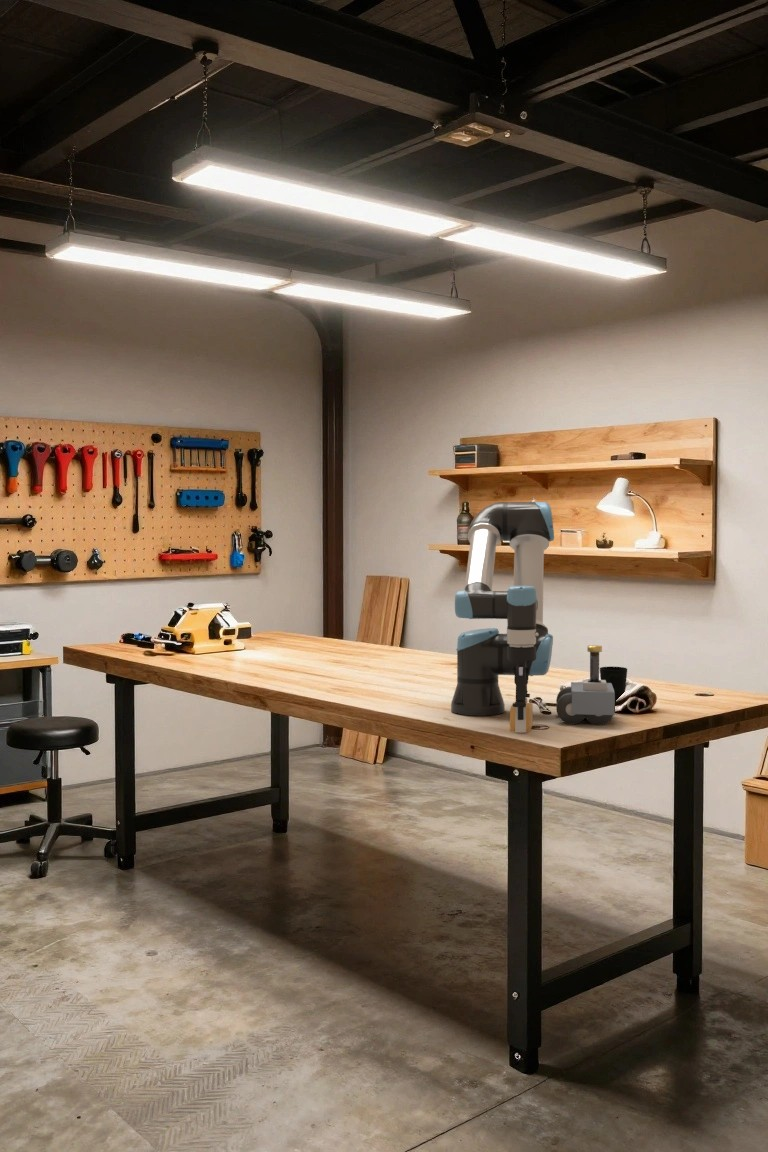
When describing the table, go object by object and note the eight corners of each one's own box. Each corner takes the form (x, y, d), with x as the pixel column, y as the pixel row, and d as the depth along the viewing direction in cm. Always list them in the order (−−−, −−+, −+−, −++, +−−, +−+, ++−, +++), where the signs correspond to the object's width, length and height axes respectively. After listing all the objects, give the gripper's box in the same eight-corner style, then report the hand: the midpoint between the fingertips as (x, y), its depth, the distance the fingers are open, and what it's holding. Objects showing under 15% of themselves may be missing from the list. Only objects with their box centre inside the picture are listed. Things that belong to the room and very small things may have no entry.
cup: (623, 707, 296) (623, 666, 296) (630, 712, 289) (630, 670, 288) (596, 708, 296) (596, 666, 296) (603, 712, 289) (603, 670, 288)
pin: (587, 689, 273) (587, 646, 272) (587, 687, 276) (587, 645, 276) (602, 689, 272) (602, 647, 272) (601, 687, 276) (601, 645, 275)
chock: (510, 731, 264) (510, 708, 264) (513, 724, 273) (513, 702, 273) (529, 732, 263) (529, 708, 263) (532, 725, 272) (532, 702, 272)
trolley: (556, 725, 271) (556, 683, 271) (556, 713, 287) (556, 674, 287) (614, 726, 269) (614, 684, 268) (611, 715, 285) (611, 675, 284)
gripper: (535, 651, 254) (535, 737, 255) (537, 640, 278) (536, 718, 279) (504, 650, 255) (504, 736, 256) (509, 639, 280) (509, 718, 281)
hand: (521, 727), depth 268 cm, fingers open, 12 cm apart
